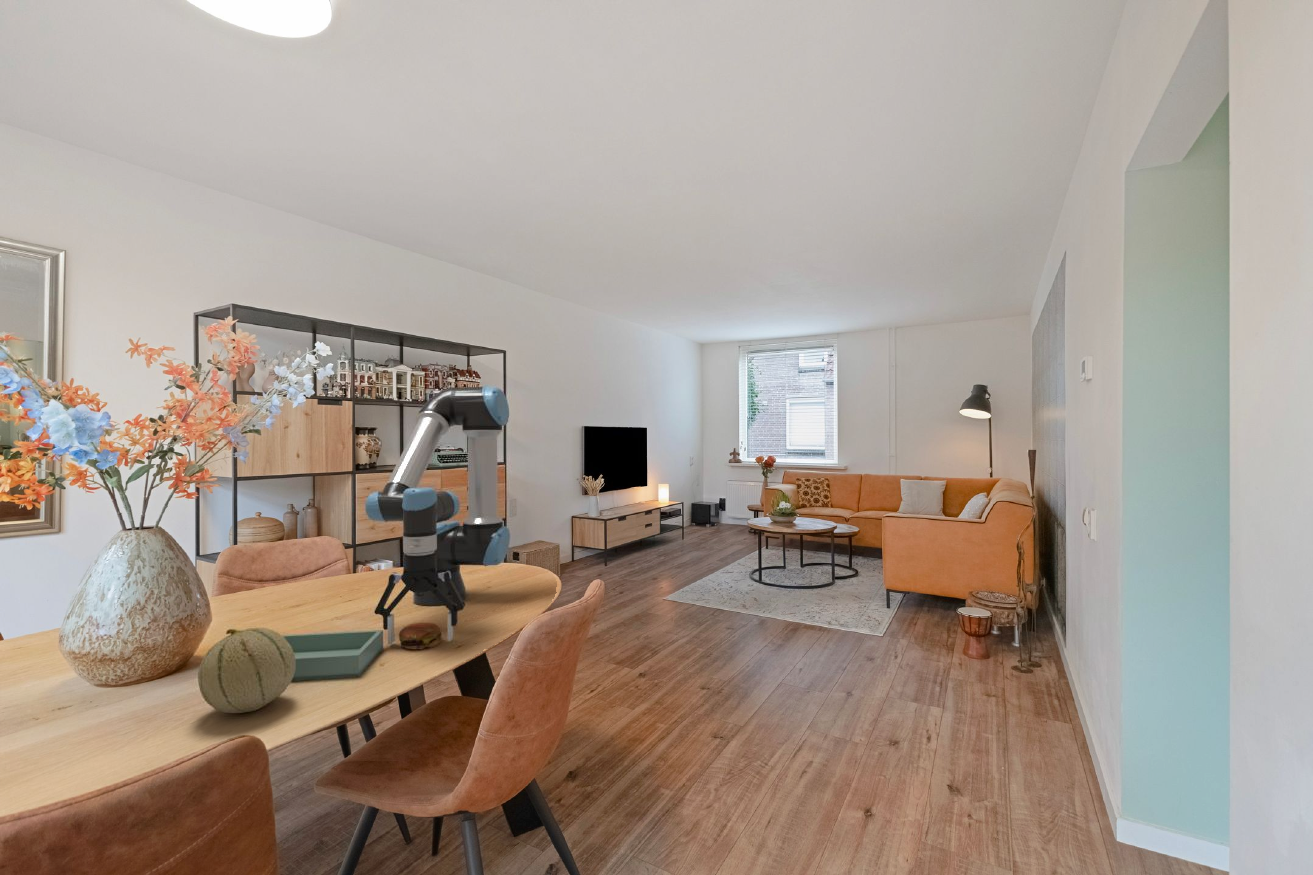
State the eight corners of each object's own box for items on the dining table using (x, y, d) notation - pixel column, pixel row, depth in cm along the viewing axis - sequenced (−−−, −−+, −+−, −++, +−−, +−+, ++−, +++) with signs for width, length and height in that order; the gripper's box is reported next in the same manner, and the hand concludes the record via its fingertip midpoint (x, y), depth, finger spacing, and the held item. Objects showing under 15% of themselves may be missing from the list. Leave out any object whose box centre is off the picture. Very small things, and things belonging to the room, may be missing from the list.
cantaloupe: (297, 714, 106) (296, 630, 106) (193, 737, 98) (192, 647, 98) (294, 684, 118) (294, 610, 118) (202, 703, 110) (202, 623, 110)
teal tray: (272, 655, 135) (272, 635, 135) (383, 648, 138) (383, 629, 138) (232, 684, 119) (232, 662, 119) (358, 676, 122) (358, 655, 122)
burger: (417, 635, 147) (417, 617, 147) (449, 639, 145) (449, 620, 145) (389, 650, 138) (389, 630, 138) (423, 654, 135) (423, 633, 135)
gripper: (359, 557, 136) (360, 649, 136) (471, 553, 139) (472, 643, 139) (370, 551, 143) (371, 638, 143) (476, 547, 147) (477, 632, 147)
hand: (421, 641), depth 141 cm, fingers open, 13 cm apart
